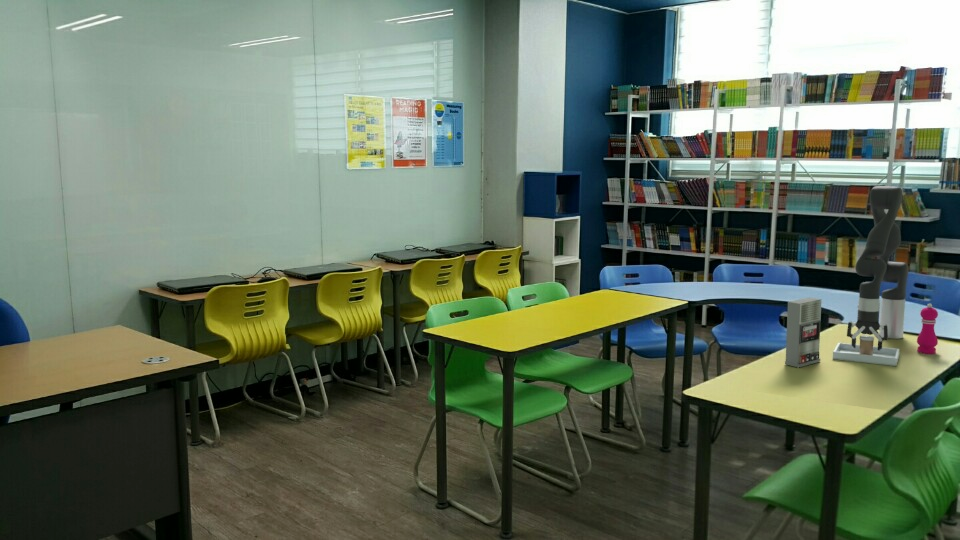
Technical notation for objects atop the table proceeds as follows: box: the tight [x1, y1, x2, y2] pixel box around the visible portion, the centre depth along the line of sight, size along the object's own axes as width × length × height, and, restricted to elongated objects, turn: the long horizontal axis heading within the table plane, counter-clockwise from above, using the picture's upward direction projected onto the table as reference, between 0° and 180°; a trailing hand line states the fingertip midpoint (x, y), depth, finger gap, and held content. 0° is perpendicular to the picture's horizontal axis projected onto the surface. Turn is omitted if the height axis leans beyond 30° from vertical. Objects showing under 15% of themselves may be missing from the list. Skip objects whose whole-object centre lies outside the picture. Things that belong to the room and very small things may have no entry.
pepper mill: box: [916, 303, 939, 355], centre depth 291 cm, size 7×7×20 cm
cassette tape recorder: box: [784, 297, 822, 369], centre depth 279 cm, size 14×6×25 cm, turn 122°
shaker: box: [859, 334, 875, 355], centre depth 286 cm, size 5×5×8 cm
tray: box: [832, 342, 900, 367], centre depth 287 cm, size 16×22×3 cm
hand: (866, 348), depth 286 cm, fingers open, 8 cm apart
